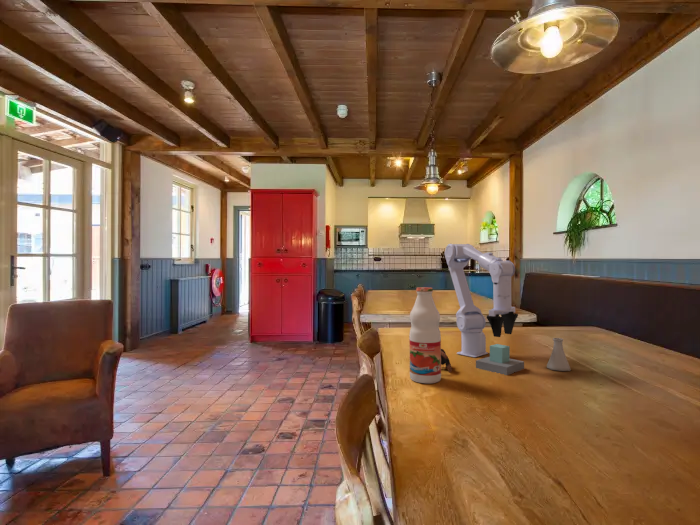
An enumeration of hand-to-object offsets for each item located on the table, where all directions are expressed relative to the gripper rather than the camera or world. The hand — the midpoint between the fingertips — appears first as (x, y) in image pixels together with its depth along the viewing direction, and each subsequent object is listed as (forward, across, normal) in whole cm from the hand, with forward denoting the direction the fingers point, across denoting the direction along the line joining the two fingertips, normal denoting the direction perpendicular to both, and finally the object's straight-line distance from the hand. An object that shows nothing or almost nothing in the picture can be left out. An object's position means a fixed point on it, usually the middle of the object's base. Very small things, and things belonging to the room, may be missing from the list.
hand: (502, 335), depth 128 cm
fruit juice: (+11, -32, +8) cm, 35 cm away
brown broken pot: (+11, -20, +12) cm, 26 cm away
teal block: (+8, -4, -1) cm, 9 cm away
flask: (+11, +10, -14) cm, 20 cm away
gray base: (+11, -4, -1) cm, 12 cm away
